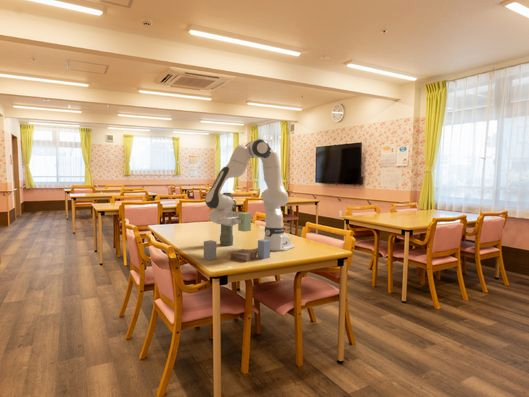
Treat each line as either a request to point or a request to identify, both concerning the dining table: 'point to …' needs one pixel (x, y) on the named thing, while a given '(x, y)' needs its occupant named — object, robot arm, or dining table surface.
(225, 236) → the thermos
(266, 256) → the blue block
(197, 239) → the dining table surface
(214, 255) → the grey block
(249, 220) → the green block
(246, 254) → the walnut brick
